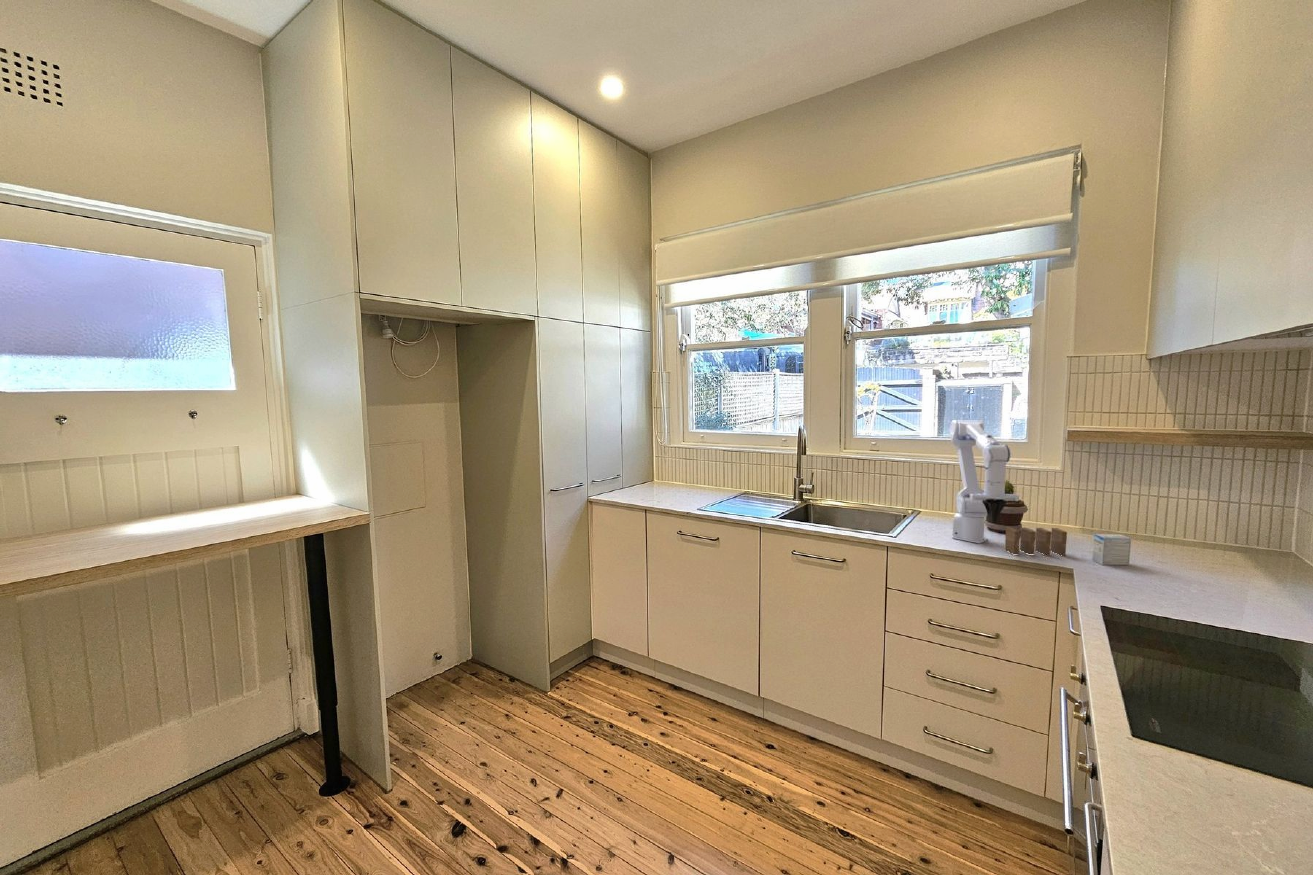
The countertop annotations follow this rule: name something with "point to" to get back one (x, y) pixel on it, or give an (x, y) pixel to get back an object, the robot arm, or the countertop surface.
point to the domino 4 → (1058, 541)
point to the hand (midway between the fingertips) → (992, 521)
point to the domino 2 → (1027, 540)
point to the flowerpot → (1008, 513)
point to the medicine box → (1111, 549)
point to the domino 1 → (1012, 540)
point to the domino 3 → (1043, 541)
